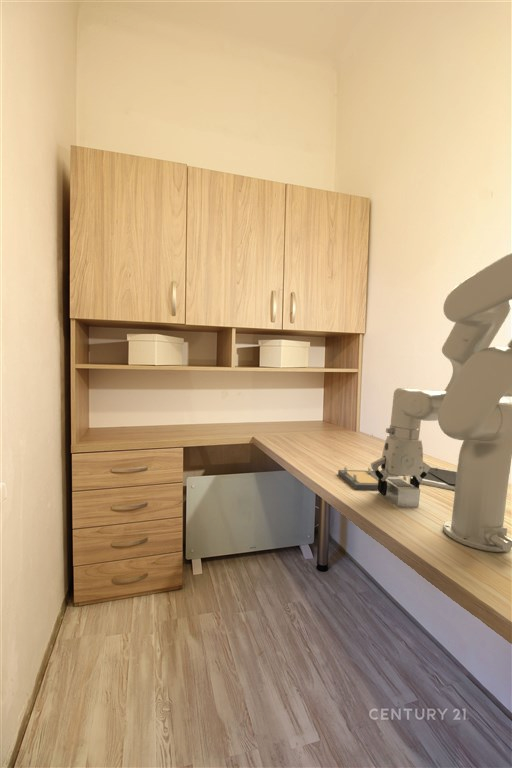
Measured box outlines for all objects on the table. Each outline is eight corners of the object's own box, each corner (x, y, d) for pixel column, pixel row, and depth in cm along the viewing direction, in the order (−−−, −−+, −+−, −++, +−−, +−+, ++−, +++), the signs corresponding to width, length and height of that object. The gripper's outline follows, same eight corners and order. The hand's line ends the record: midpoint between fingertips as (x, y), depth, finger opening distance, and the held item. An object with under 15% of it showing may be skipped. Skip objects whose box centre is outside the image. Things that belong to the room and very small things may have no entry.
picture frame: (466, 495, 107) (461, 477, 126) (467, 486, 107) (462, 469, 126) (410, 484, 114) (413, 468, 133) (411, 475, 114) (414, 461, 133)
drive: (418, 508, 93) (420, 489, 92) (397, 507, 92) (399, 488, 92) (398, 493, 103) (400, 476, 102) (379, 493, 102) (380, 476, 102)
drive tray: (413, 490, 106) (414, 479, 105) (356, 489, 103) (357, 478, 103) (389, 475, 119) (390, 465, 119) (338, 474, 117) (338, 464, 116)
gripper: (381, 435, 91) (375, 499, 93) (441, 437, 94) (434, 500, 95) (368, 428, 99) (362, 488, 100) (424, 431, 101) (418, 489, 103)
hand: (397, 493), depth 98 cm, fingers open, 9 cm apart
